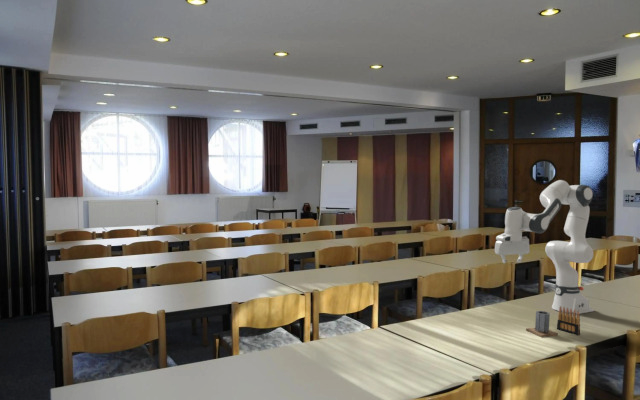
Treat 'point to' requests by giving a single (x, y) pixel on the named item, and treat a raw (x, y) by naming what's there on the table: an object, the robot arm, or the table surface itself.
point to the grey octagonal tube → (542, 321)
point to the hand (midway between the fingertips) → (511, 262)
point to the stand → (532, 330)
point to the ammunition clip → (568, 321)
